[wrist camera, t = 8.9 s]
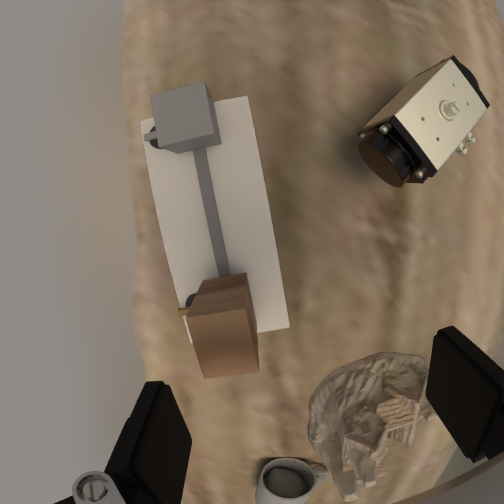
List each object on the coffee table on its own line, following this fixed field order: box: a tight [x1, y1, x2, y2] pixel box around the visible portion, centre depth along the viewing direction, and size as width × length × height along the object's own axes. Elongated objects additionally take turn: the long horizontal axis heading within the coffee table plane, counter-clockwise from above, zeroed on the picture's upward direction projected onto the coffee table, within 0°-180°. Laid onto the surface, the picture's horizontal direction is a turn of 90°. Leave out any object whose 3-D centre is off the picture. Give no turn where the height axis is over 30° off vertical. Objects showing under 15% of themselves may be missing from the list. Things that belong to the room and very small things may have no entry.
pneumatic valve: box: [357, 55, 490, 187], centre depth 21 cm, size 6×12×12 cm, turn 135°
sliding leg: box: [178, 273, 259, 379], centre depth 24 cm, size 5×7×8 cm
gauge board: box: [140, 82, 290, 343], centre depth 25 cm, size 22×10×7 cm, turn 11°
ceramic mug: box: [255, 457, 329, 504], centre depth 33 cm, size 11×8×8 cm
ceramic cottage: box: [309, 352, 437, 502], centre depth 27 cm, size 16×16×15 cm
